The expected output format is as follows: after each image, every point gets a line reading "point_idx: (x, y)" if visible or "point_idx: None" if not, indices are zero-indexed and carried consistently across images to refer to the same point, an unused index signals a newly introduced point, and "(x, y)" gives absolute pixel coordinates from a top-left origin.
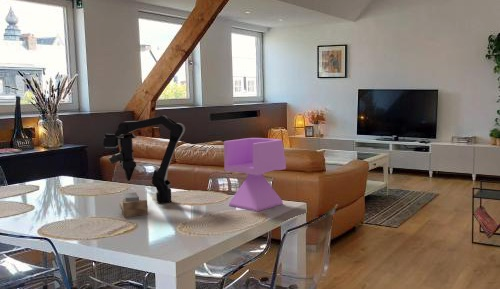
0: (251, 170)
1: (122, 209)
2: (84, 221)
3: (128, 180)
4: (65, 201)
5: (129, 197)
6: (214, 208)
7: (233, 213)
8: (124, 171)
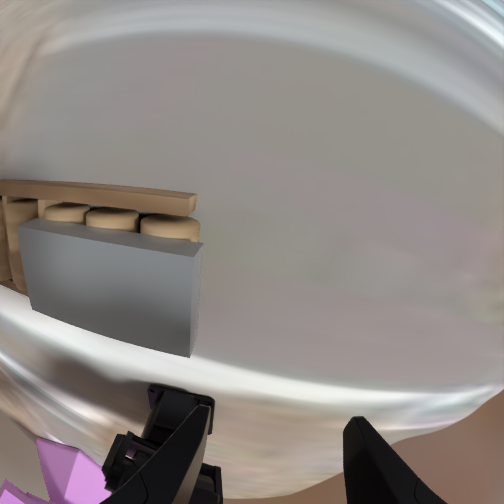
0: (8, 487)
1: (12, 183)
2: (13, 32)
3: (196, 411)
4: (483, 4)
5: (30, 257)
6: (58, 425)
7: (23, 413)
8: (414, 488)
